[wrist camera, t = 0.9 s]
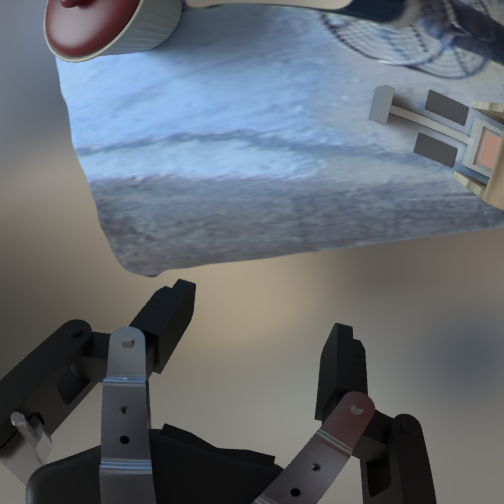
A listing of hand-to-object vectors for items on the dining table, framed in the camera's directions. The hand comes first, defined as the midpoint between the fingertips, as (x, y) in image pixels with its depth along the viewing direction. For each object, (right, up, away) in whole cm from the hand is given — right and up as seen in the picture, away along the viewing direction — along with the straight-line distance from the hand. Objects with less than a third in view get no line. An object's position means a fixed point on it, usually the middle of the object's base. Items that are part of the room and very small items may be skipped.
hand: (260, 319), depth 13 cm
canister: (-17, +42, +26) cm, 52 cm away
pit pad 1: (+29, +25, +23) cm, 45 cm away
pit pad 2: (+28, +18, +27) cm, 43 cm away
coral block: (+38, +18, +23) cm, 48 cm away
